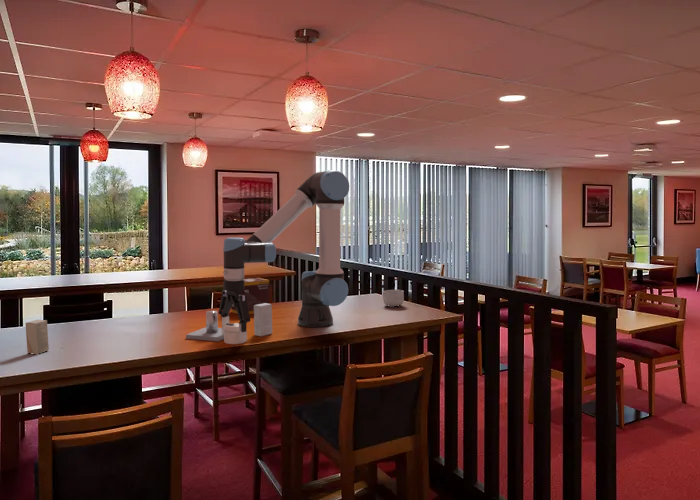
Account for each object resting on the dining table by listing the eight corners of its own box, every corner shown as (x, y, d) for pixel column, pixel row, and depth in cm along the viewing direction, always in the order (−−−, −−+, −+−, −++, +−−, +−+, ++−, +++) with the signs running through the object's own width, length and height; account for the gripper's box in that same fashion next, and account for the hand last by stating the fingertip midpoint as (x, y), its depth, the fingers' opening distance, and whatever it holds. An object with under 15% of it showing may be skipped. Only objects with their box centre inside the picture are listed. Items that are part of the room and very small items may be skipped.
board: (237, 332, 208) (237, 329, 208) (218, 341, 195) (218, 337, 194) (206, 330, 212) (206, 326, 212) (186, 338, 199) (186, 334, 198)
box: (39, 350, 182) (38, 319, 181) (49, 351, 181) (48, 319, 180) (26, 354, 177) (24, 322, 176) (36, 355, 176) (34, 323, 175)
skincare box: (265, 332, 209) (265, 302, 208) (272, 333, 207) (272, 304, 206) (253, 334, 205) (253, 304, 204) (260, 336, 202) (260, 306, 201)
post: (220, 331, 205) (219, 310, 204) (214, 333, 200) (213, 313, 200) (210, 330, 206) (209, 310, 205) (204, 332, 202) (203, 312, 201)
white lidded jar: (250, 339, 197) (250, 322, 197) (239, 344, 190) (239, 327, 189) (231, 338, 200) (231, 321, 199) (220, 343, 192) (220, 325, 192)
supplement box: (270, 311, 251) (269, 279, 250) (241, 315, 242) (240, 282, 240) (259, 308, 259) (258, 277, 258) (230, 312, 249) (230, 280, 248)
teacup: (397, 309, 258) (397, 293, 257) (378, 306, 264) (378, 291, 263) (410, 304, 269) (410, 289, 269) (391, 302, 275) (391, 287, 275)
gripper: (209, 276, 199) (209, 332, 201) (242, 284, 182) (242, 345, 184) (226, 274, 204) (226, 329, 206) (260, 282, 187) (260, 341, 189)
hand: (233, 336), depth 195 cm, fingers open, 11 cm apart
